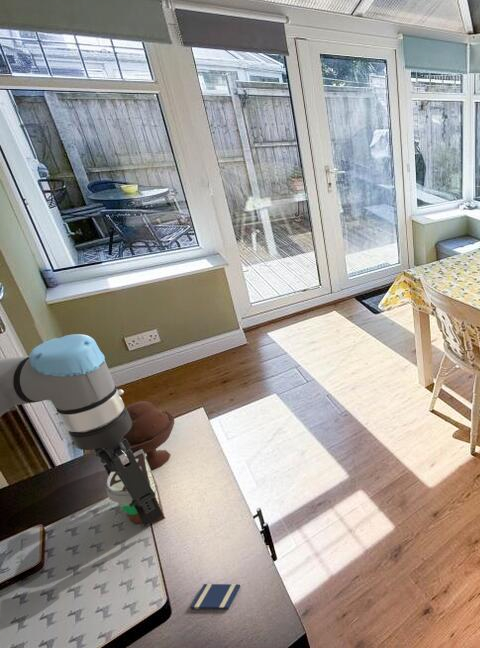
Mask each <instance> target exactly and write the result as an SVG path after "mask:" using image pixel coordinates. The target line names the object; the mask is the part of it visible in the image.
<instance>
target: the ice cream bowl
mask: <svg viewBox="0 0 480 648" xmlns="http://www.w3.org/2000/svg"><path fill="white" fill-rule="evenodd" d="M125 408H126V409H127V411H128V413H129V415H130V418H131V420H132V427H131V429H130V430H129V431H128V433H127V434H125V435H124V437H123V438H124V439H127V441H128V442H129V444H130V447H129V448H130V449H131V451H133V453H135V452H137V451H139V450H141V449H142V450H143V452H144V454H145V457H146V459H147V462H148V464H149V467H150V469H151V471H154V470H156V469H159V468H161V467H162V466H163V465H165V464H166V463H167V462H168V461H169V460H170V458H171V453H170V452H169V451H168V450H167V449H159V450H157V449H158V448H159V447H160V446H162V445H163V444H164V443H166V442H167V441H168V439H169V438H170V435H171V434H172V432H173V428H174V425H175V417H174V416H173V414H171V413H170V412H169V411H167V410H161V409H158V408H156V406H155V405H154V404H153V403H152V402H151V401H144V400H141V401H136V402H133V403H131V404H129V405H127V406H126V407H125ZM124 439H123V440H124Z"/></svg>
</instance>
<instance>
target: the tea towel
mask: <svg viewBox="0 0 480 648" xmlns="http://www.w3.org/2000/svg"><path fill="white" fill-rule="evenodd" d="M240 588H241V585H240V584H238V583H237V584H236V583H234V584H233V583H231V584H230V583H228V584H227V583H204V584H203V585H202V587H201V588H200V590H199V592H198V594H197V595H196V597H195V599H194V600H193V601H192V603H191V605H190V609H191V610H229V609H230V607H231V605H232V604H233V601H234V600H235V598H236V595H237V594H238V592H239V590H240Z"/></svg>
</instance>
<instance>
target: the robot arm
mask: <svg viewBox="0 0 480 648" xmlns="http://www.w3.org/2000/svg"><path fill="white" fill-rule="evenodd" d="M105 359H106V356H105V355H104V353H103V352H102V351H101V349H100V347H99V346H98V344H97V342H96V340H95V339H94V338H93V337H92V336H89V335H87V334H81V333H76V334H75V333H73V334H67V335H64V336H62V337H54V338H52V339H49V340H46V341H43V342H42V343H40V344H39V345H36V346H35V347H34V348H33V349H31V351H30V353H29V355H24V356H17V357H7V358H0V418H1V417H2V416H4V414H5V413H7V412H8V411H9V410H11V408H13V407H15V406H19V405H20V406H21V405H26V404H32V403H33V404H34V403H39V402H43V401H51V403H52V405H53V406H54V408H55V409H56V410H55V411H56V412H57V415H58V417H59V419H60V421H61V422H62V425H63V426H64V428H65V429H66V430H67V431H68V434H69V437H70V438H71V440H72V442H73V444H74V446H75V448H77V449H78V450H82V451H94V452H95V455H96V457H98V458H99V459H100V462H101V463H102V464H104V465H103V467H104V469H105V471H106V473H107V475H108V476H109V475H110V473H111V472H116V473H117V474H118V476H119V478H120V479H121V481H122V483H123V484H124V486H125V488H126V489H127V491H128V492H129V494H130V496H131V497H132V499H133V500H132V503H130V504H129V506H130V507H132V506H134V507H135V509H136V511H137V513H138V515H139V517H140V519H141V521H142V523H143V525H142V526H144V527H145V528H146V527H147V526H148V525H151V524H153V523H152V522H153V521H155V520H156V519H158V518H159V517H161V516H162V513H161V511H160V509H159V507H158V504H157V502H156V500H155V498H154V497H155V496H156V495H155V492H153V490H152V488H151V487H150V485H149V483H148V481H147V479H146V478H145V476H144V474H143V472H142V470H141V469H140V467H139V465H138V463H137V462H136V460H135V456H134V454H133V451H131V449H130V448H129V447H130V444H129V442H128V441H127V439H124V438H123V437H124V435H125V434H127V433H128V431H129V430H130V429H131V427H132V420H131V418H130V415H129V413H128V411H127V409H126V407H125V403H124V400H123V398H122V397H121V396H122V395H124V393H125V391H124V390H123V389H118V388H117V386H116V382H115V381H114V380H113V376H112V375H111V372H110V369H109V367H108V364H107V362H106V360H105ZM123 439H124V440H123ZM150 523H151V524H150Z"/></svg>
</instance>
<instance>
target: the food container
mask: <svg viewBox="0 0 480 648" xmlns="http://www.w3.org/2000/svg"><path fill="white" fill-rule="evenodd" d="M133 454H134V456H135V460H136V462H137V463H138V465H139V467H140V469H141V470H142V472H143V474H144V476H145V478H146V479H147V481H148V483H149V485H150V487H151V488H152V490H153V492H155V495H156V496H155V497H154V498H155V500H156V502H157V504H158V507H159V509H160V511H161V513H162V516H161V517H159V518H158V519H156V520H155V521H153V522H152V523H150V524H149V525H151V524H154V523H158V522H160V521H161V520H164V519H166V516H165V511H164V507H163V503H162V498H161V493H160V489H159V486H158V483H157V481H156V479H155V476H154V474H153V472H152V471H153V470H151V469H150V467H149V464H148V462H147V459H146V453H145V454H144V452H143V450H142V449H141V450H139V451H137V452H135V453H133ZM105 489H106V495H107V497H108V499H109V500H111V501H112V502H115V503H118V505H119V506H120V507H121V510H122V511H123V512H124V513H125V515H126V516H127V518H128V519H129V521H130V522H131V523H132V524H134V525H139V526H144V525H143V523H142V521H141V519H140V517H139V515H138V513H137V511H136V509H135V507H134V506H132V507H130V506H129V504H130V503H132V500H133V499H132V497H131V496H130V494H129V492H128V491H127V489H126V488H125V486H124V484H123V483H122V481H121V479H120V478H119V476H118V474H117V473H116V472H111V473H110V475H108V476H107V481H106V485H105Z"/></svg>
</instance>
